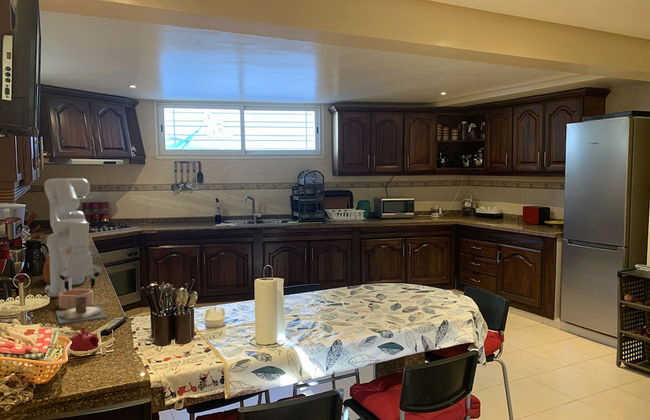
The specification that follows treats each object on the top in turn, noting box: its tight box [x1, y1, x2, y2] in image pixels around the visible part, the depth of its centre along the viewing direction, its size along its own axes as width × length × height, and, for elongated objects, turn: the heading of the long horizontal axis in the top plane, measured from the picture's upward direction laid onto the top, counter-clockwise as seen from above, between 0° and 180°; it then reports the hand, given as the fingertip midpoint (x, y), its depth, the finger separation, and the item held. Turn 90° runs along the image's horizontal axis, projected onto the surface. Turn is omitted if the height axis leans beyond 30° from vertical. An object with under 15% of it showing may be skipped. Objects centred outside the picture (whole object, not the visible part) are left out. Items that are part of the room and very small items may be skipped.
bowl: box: [58, 288, 94, 310], centre depth 229 cm, size 14×14×6 cm
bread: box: [42, 251, 69, 285], centre depth 282 cm, size 18×22×17 cm
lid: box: [60, 294, 101, 319], centre depth 212 cm, size 16×16×8 cm
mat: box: [55, 305, 108, 325], centre depth 213 cm, size 20×18×1 cm
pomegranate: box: [69, 326, 100, 351], centre depth 167 cm, size 10×10×9 cm
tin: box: [72, 276, 87, 287], centre depth 268 cm, size 15×3×8 cm, turn 141°
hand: (80, 288), depth 212 cm, fingers open, 9 cm apart
